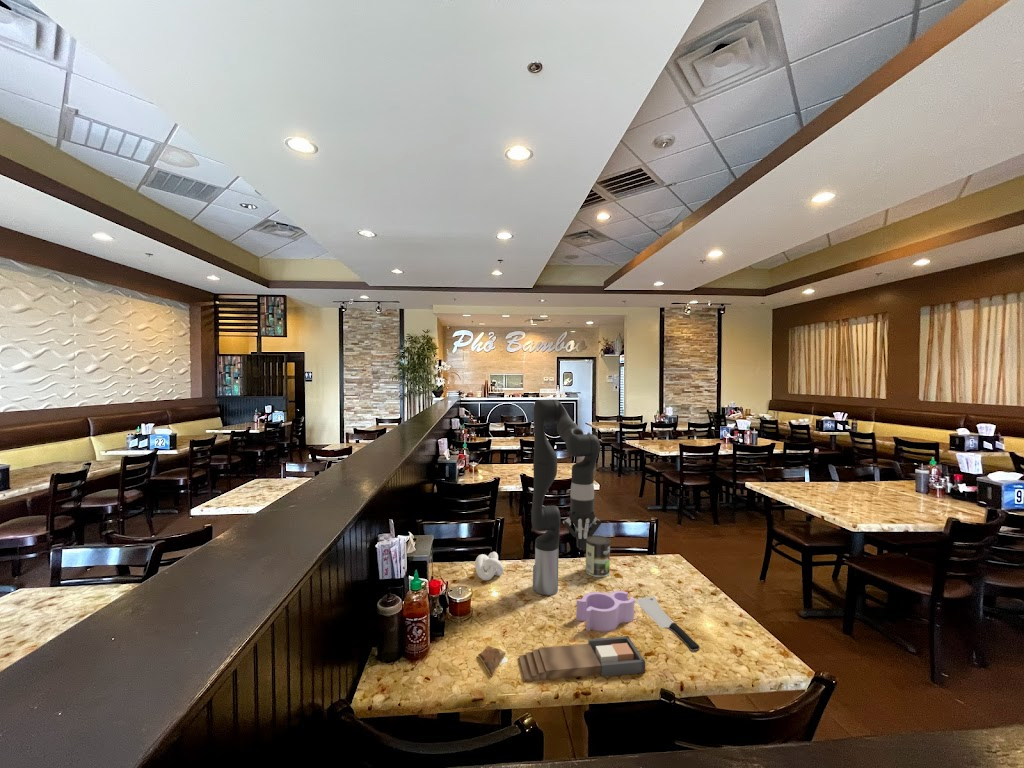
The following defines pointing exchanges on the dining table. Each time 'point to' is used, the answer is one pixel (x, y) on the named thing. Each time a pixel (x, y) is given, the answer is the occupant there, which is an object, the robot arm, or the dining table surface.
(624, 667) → the box
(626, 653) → the tile terracotta
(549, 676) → the board
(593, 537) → the coffee can
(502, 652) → the shard
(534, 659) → the brown stairs
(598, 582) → the dining table surface
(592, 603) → the purple double cup holder
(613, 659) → the tile cream
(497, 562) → the white knot
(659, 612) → the kitchen cleaver
